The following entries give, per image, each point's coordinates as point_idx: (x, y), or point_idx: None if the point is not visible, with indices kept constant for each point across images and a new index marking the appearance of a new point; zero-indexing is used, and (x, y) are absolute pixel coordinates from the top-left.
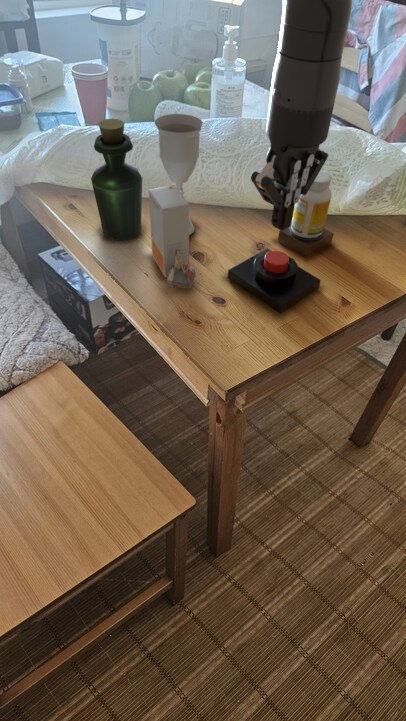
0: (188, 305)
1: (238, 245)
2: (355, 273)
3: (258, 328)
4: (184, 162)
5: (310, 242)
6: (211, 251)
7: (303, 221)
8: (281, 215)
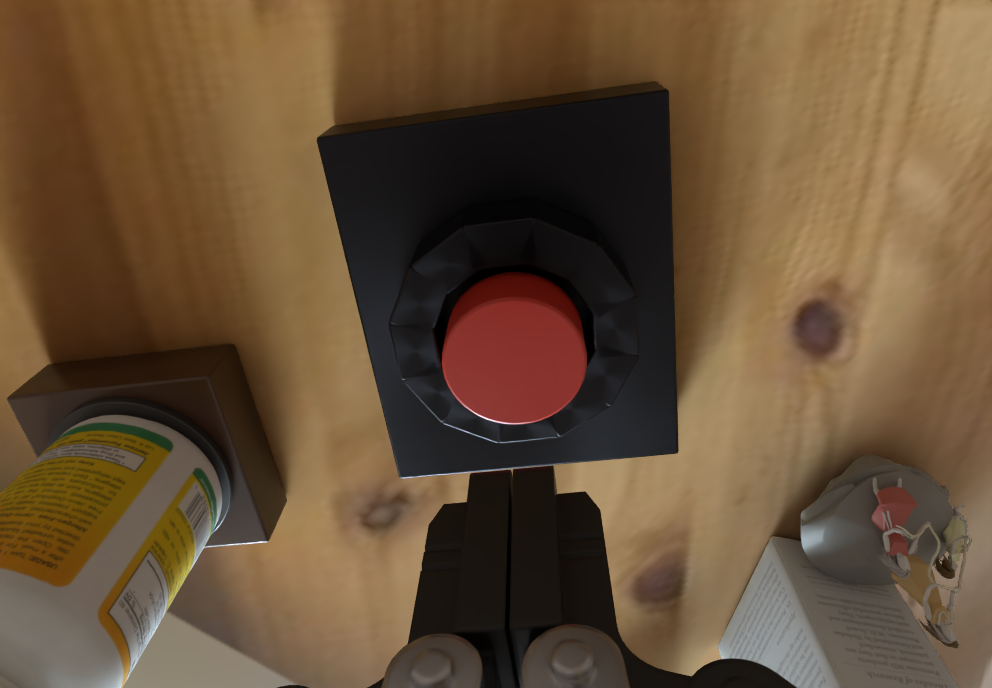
0: (949, 374)
1: None
2: (54, 111)
3: (836, 53)
4: None
5: (177, 402)
6: None
7: (168, 518)
8: (596, 577)
